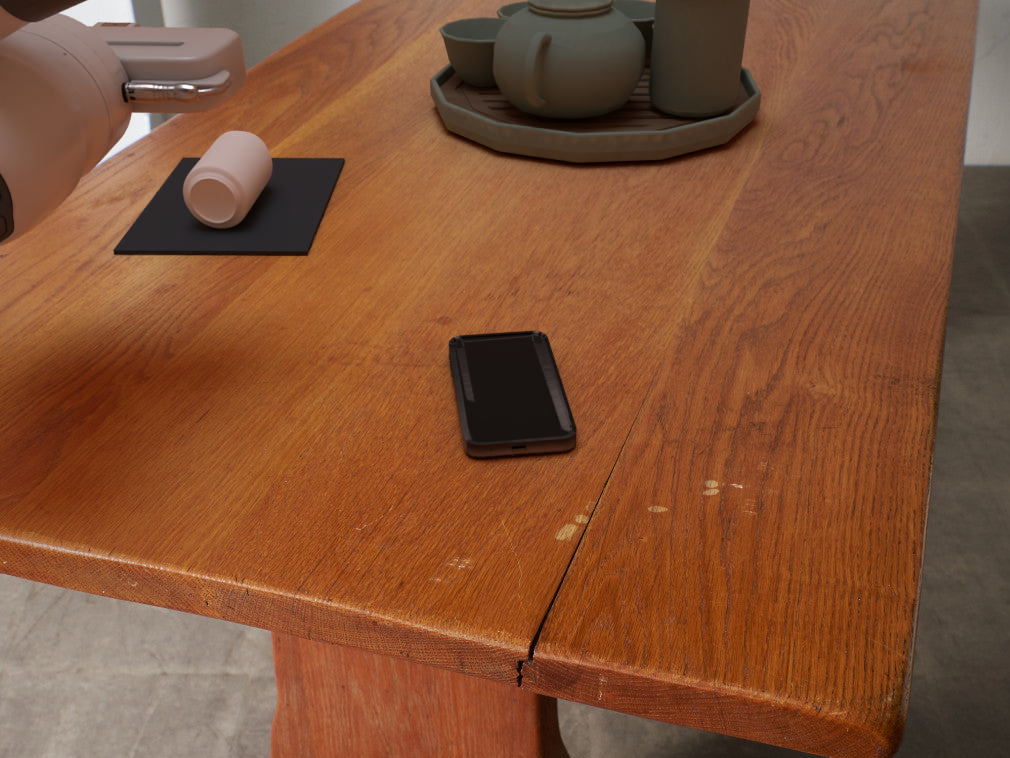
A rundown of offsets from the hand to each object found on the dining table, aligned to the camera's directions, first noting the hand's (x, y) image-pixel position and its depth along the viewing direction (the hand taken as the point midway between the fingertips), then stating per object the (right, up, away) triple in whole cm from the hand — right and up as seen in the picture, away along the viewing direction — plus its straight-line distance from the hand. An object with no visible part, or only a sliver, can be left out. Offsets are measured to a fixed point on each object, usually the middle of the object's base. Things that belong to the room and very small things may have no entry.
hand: (122, 34), depth 73 cm
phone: (+28, -26, +1) cm, 38 cm away
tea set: (+38, +15, +53) cm, 67 cm away
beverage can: (0, -6, +21) cm, 22 cm away
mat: (0, -3, +30) cm, 30 cm away
